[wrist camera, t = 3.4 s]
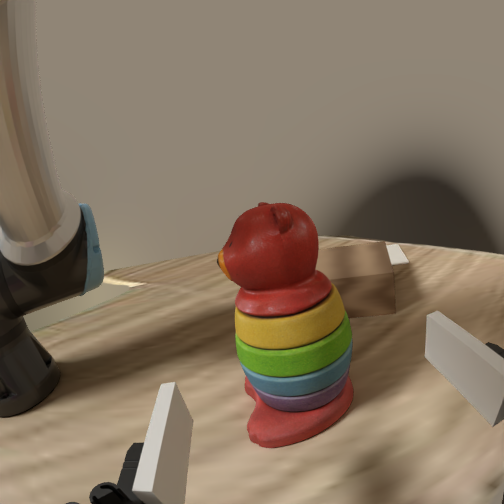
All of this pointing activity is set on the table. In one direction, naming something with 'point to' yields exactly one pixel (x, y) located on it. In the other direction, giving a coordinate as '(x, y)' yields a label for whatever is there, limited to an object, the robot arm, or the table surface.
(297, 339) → the stacking bear
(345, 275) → the tower base
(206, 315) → the table surface
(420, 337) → the table surface
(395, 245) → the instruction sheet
